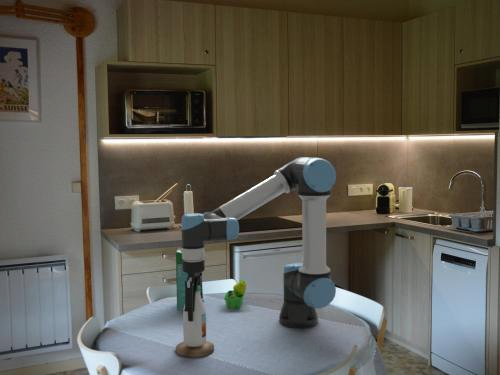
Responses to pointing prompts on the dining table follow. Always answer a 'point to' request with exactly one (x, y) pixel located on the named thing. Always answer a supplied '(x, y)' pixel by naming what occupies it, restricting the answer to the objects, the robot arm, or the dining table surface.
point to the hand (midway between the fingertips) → (194, 325)
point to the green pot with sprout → (236, 295)
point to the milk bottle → (199, 334)
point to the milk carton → (180, 280)
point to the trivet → (194, 350)
